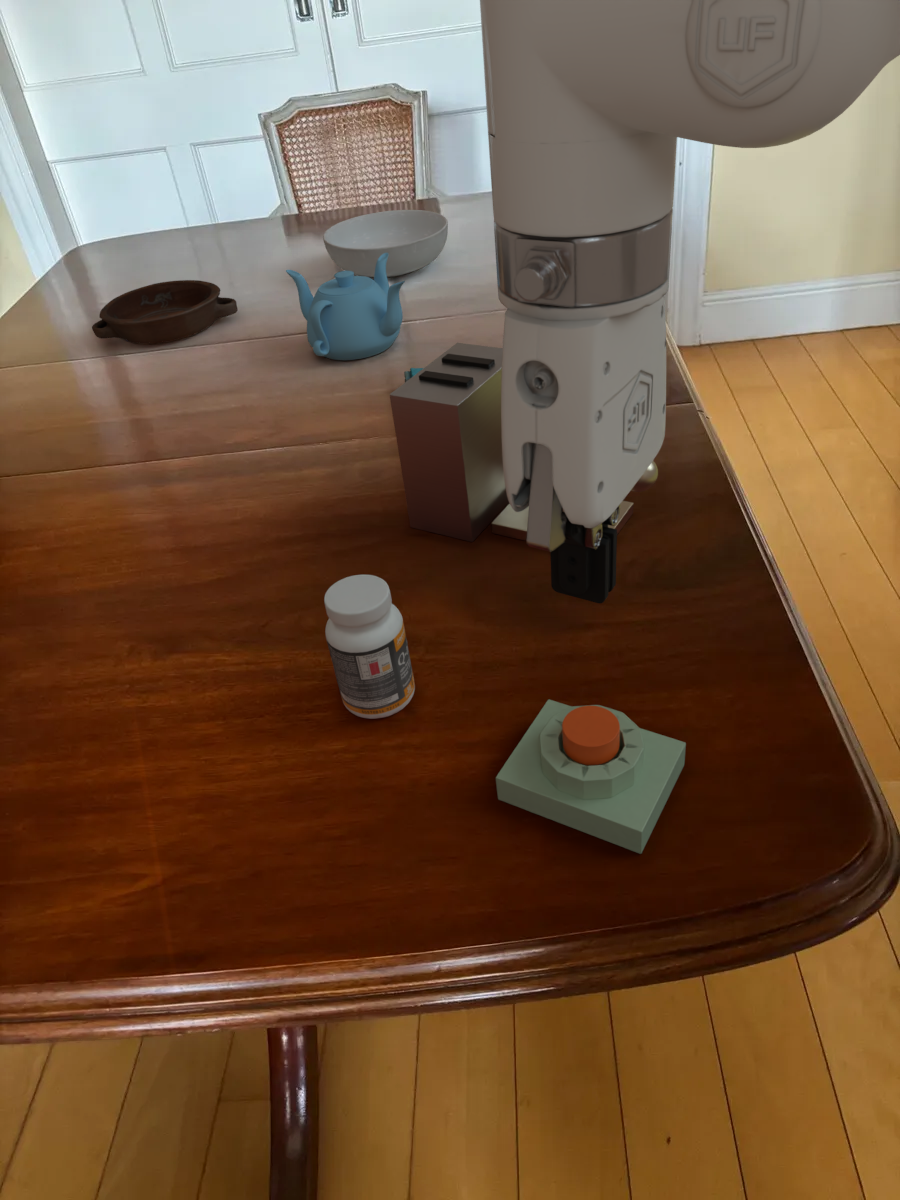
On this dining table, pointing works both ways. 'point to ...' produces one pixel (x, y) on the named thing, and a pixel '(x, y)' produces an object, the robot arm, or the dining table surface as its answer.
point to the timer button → (591, 735)
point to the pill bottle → (368, 647)
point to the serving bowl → (387, 241)
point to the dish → (163, 312)
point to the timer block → (593, 779)
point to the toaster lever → (647, 479)
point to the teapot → (351, 313)
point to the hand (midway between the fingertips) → (583, 589)
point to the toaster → (452, 442)
